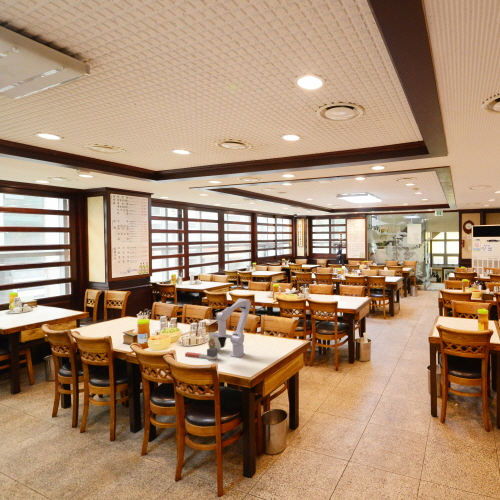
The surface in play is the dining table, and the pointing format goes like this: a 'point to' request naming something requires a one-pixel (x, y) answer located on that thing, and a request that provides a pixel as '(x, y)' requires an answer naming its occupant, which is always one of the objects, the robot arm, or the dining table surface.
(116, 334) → the dining table surface
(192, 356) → the ratchet
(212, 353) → the socket
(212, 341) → the pitcher
